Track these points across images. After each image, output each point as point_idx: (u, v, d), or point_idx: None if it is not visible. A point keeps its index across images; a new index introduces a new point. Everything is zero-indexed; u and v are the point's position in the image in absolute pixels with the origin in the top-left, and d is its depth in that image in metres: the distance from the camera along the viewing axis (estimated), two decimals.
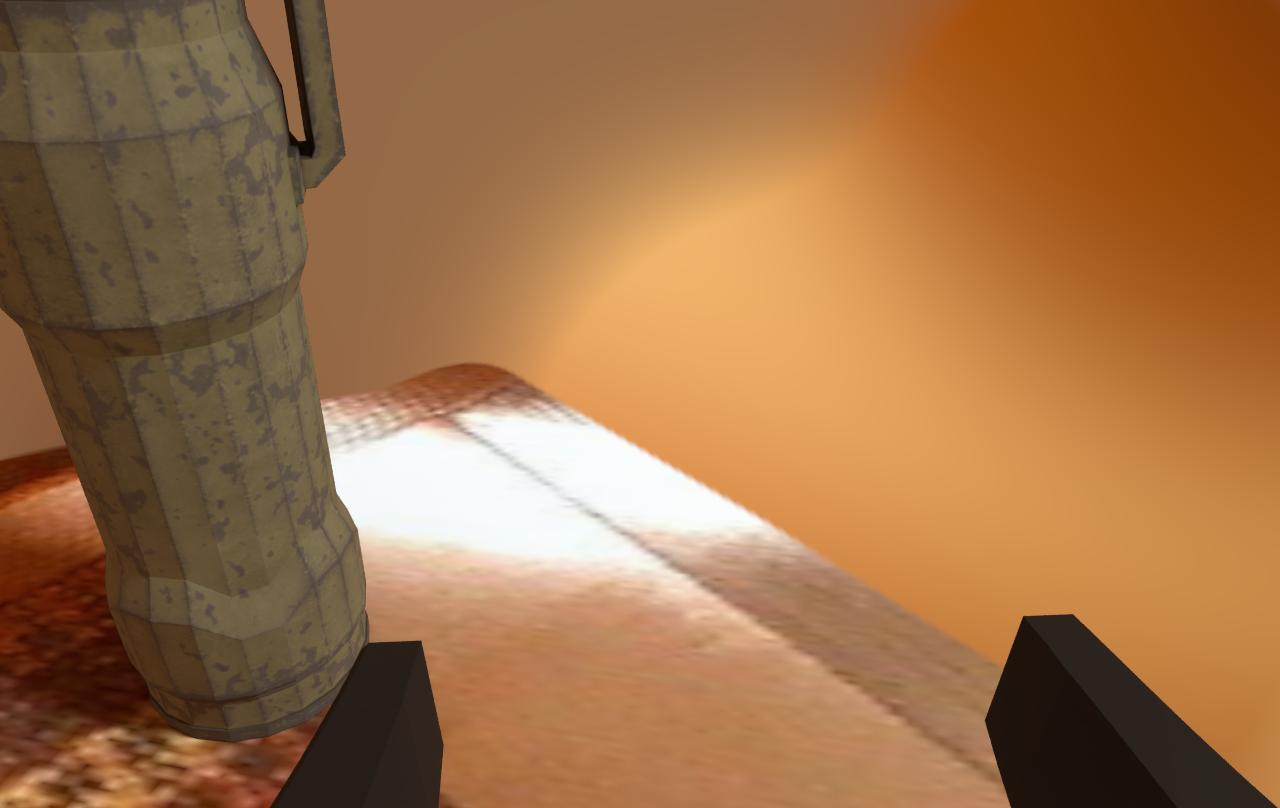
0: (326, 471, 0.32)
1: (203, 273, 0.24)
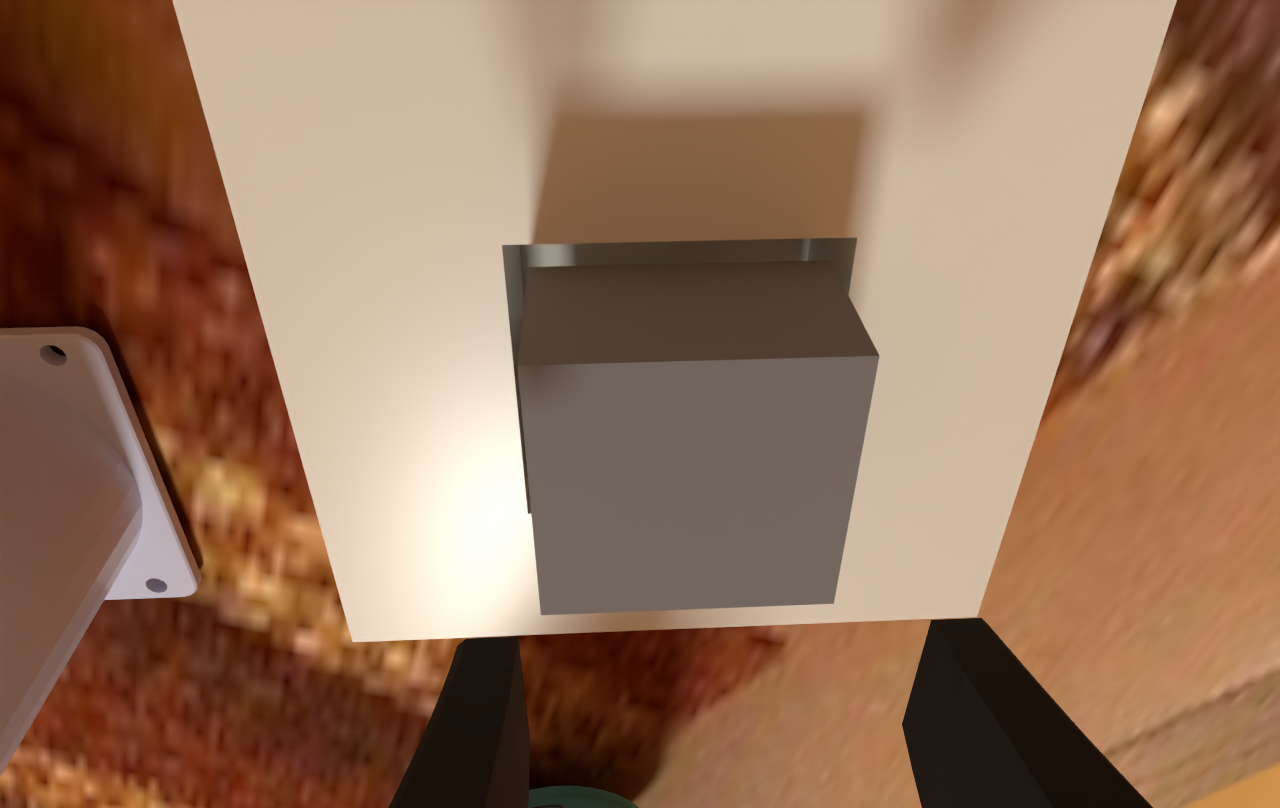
0: None
1: None
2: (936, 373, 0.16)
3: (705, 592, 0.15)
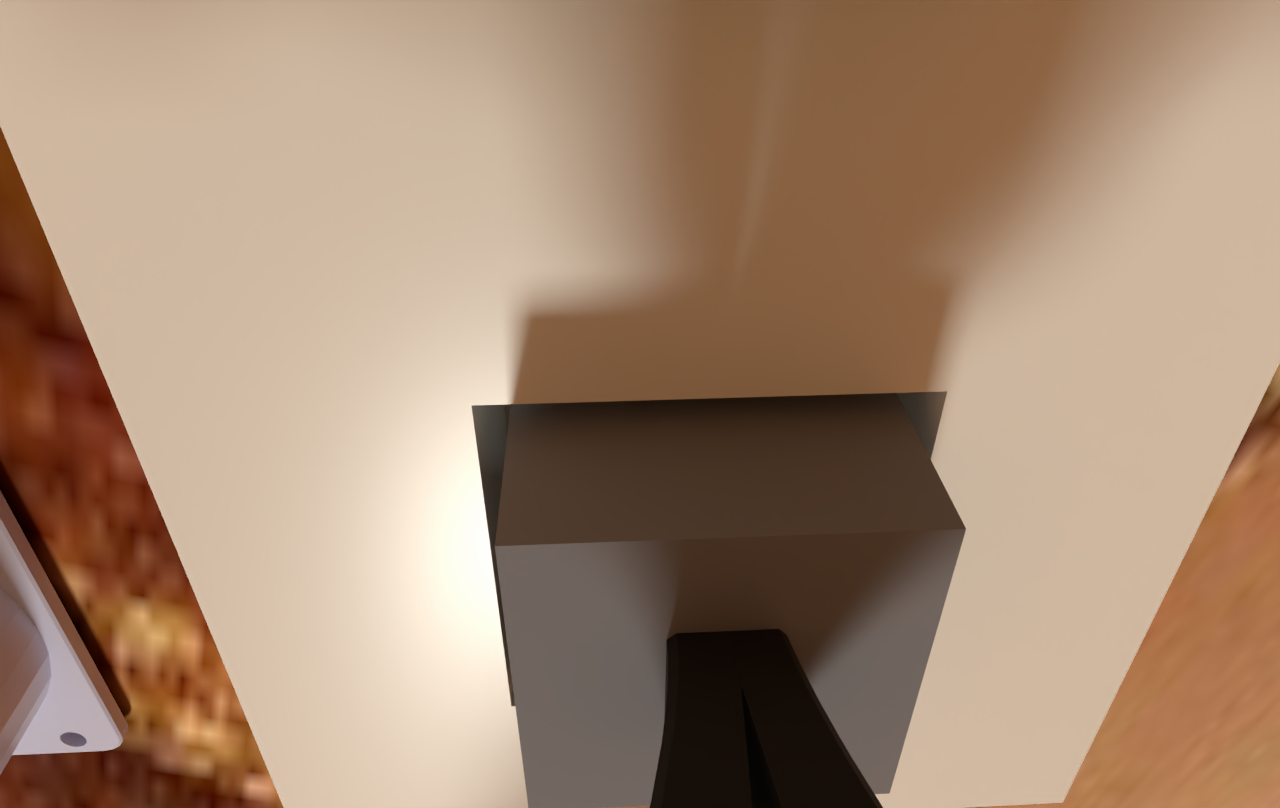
0: None
1: None
2: (1037, 547, 0.13)
3: None
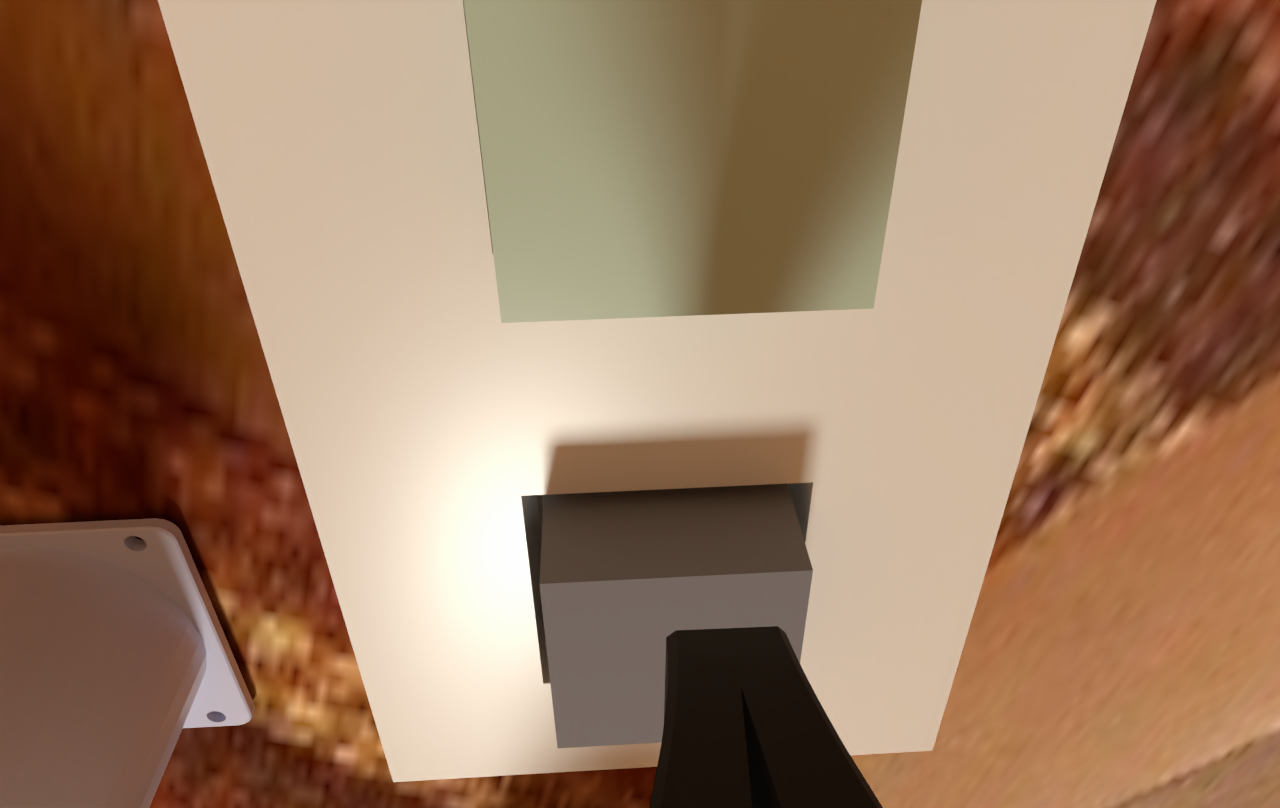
0: None
1: None
2: (885, 574, 0.19)
3: None
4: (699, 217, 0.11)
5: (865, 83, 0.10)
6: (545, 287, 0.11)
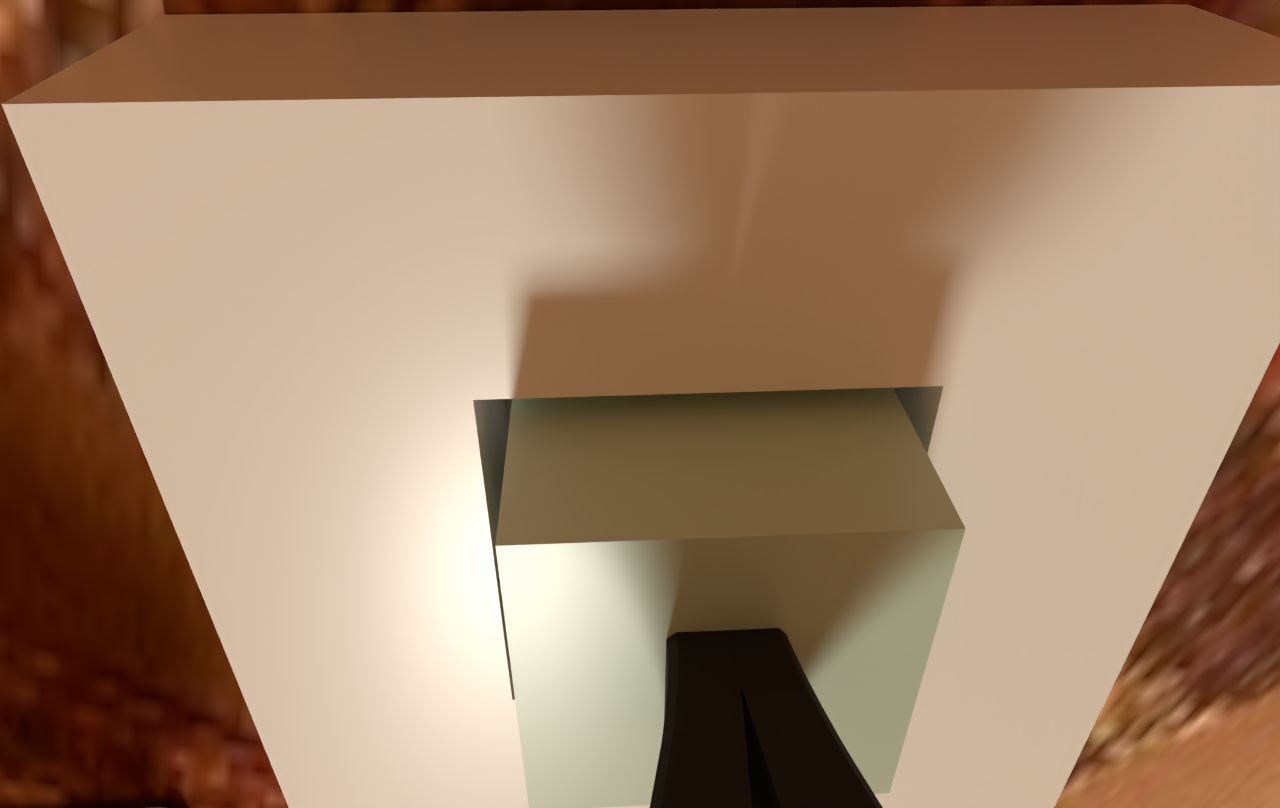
0: None
1: None
2: None
3: None
4: None
5: (887, 655, 0.11)
6: (573, 788, 0.12)
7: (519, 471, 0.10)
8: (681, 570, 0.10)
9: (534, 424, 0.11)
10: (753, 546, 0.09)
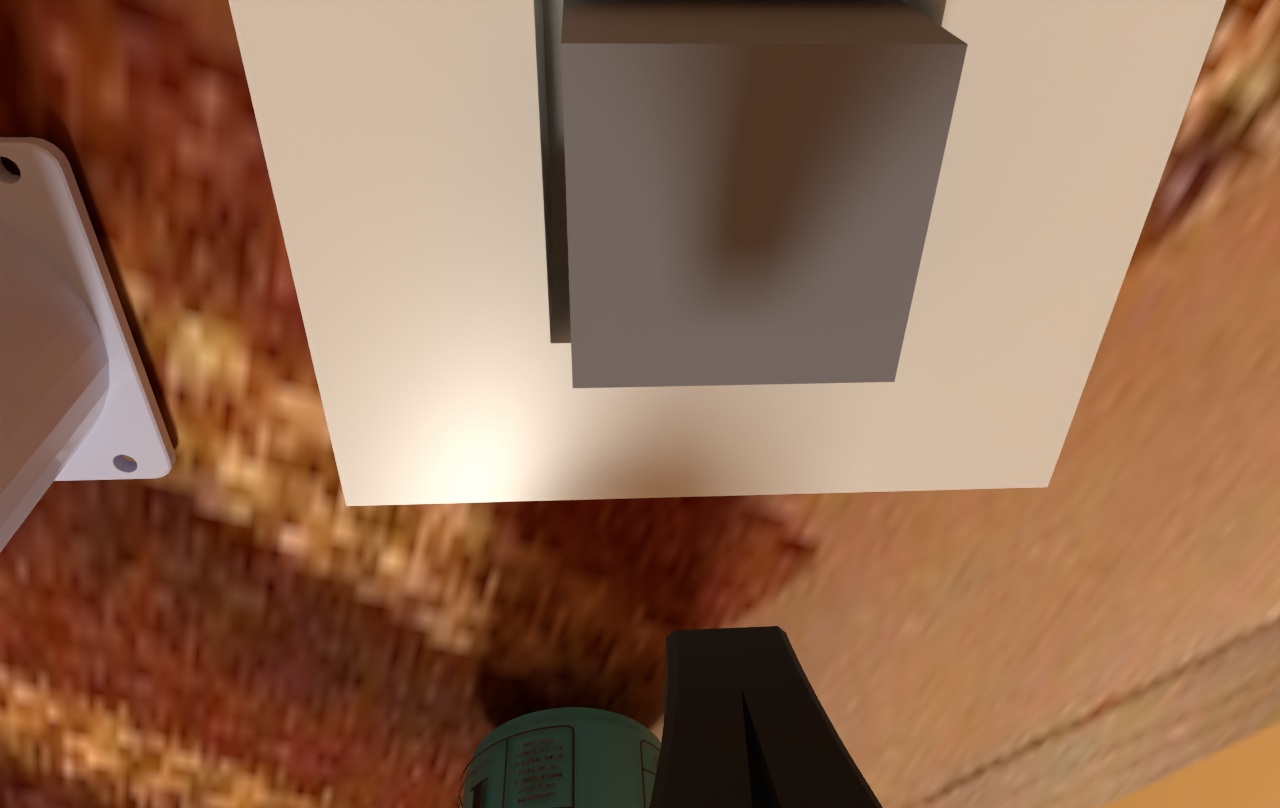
0: None
1: None
2: (1027, 169, 0.14)
3: (755, 362, 0.13)
4: None
5: None
6: None
7: None
8: None
9: None
10: None
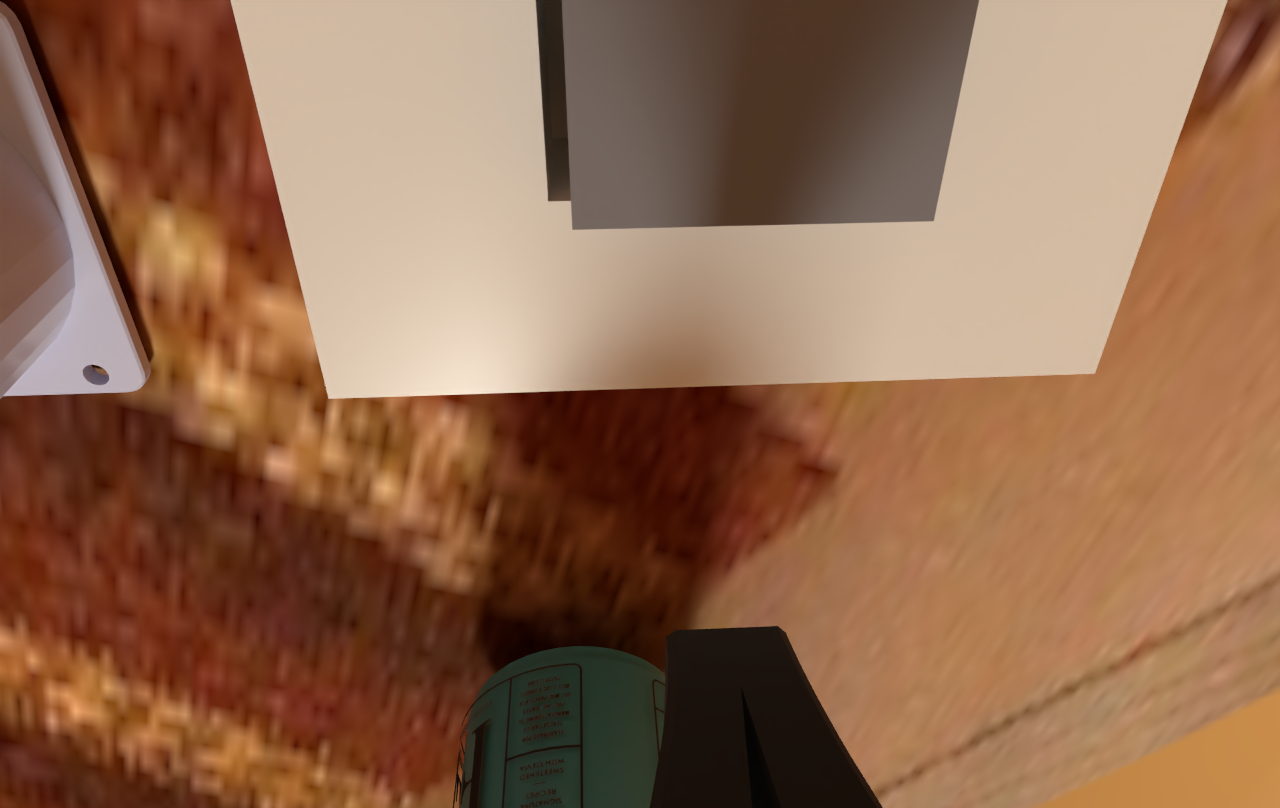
0: None
1: None
2: None
3: (777, 196, 0.12)
4: None
5: None
6: None
7: None
8: None
9: None
10: None
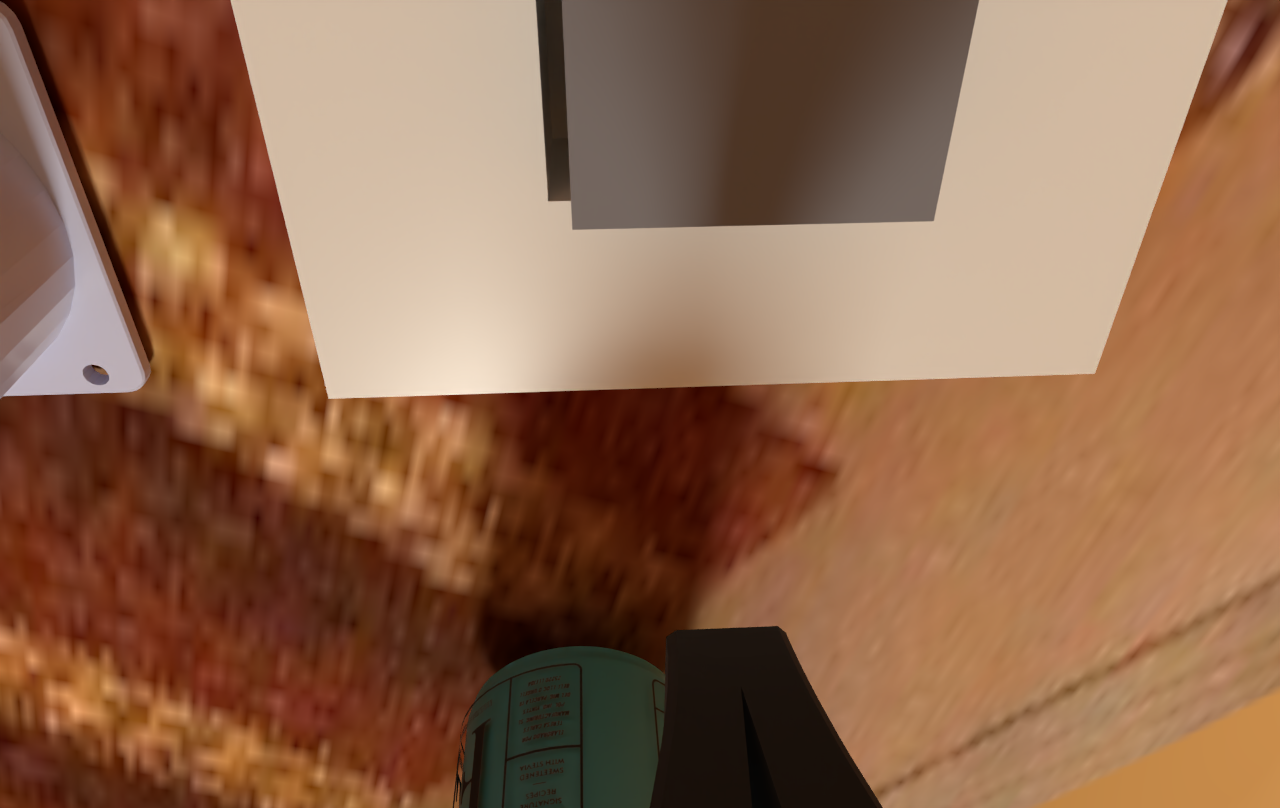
0: None
1: None
2: None
3: (777, 196, 0.12)
4: None
5: None
6: None
7: None
8: None
9: None
10: None
